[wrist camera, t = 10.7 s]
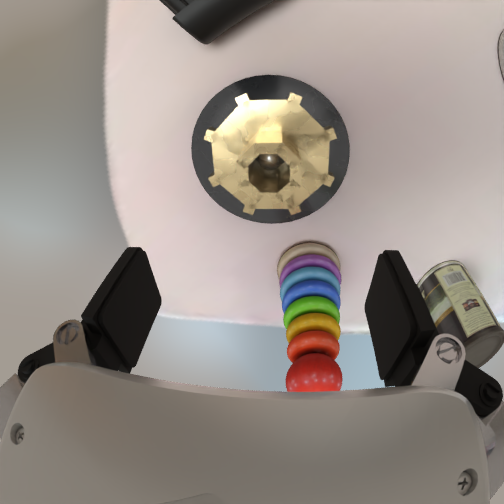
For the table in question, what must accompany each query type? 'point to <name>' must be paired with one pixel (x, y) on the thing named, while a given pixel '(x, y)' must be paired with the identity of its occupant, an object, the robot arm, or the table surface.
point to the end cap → (211, 15)
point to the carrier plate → (270, 92)
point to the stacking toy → (311, 317)
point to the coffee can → (461, 311)
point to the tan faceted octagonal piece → (270, 142)
